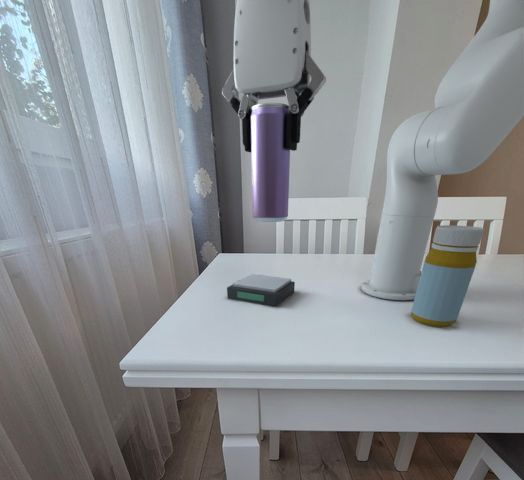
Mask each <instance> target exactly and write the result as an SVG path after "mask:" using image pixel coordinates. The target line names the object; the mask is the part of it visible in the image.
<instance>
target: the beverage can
mask: <svg viewBox="0 0 524 480" xmlns="http://www.w3.org/2000/svg"><path fill="white" fill-rule="evenodd" d="M289 110H290V107H289V104H286V103H280V102H264V103H262V102H261V103H257V105H254V106H253V107H252V113H251V117H250V122H251V152H250V158H251V159H250V161H251V162H250V164H251V165H250V166H251V168H250V169H251V207H252V208H251V210H252V211H251V212H252V214H251V215H252V219H253V220H254V221H255V222H259V223H260V222H261V223H280V222H285V221H286V220H287V218H288V216H289V197H290V196H289V195H290V165H291V164H290V163H291V150H289V149H287V148H286V116H287V114H289Z"/></svg>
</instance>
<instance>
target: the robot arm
mask: <svg viewBox="0 0 524 480" xmlns="http://www.w3.org/2000/svg"><path fill="white" fill-rule="evenodd" d="M310 5H311V4H310V0H236V3H235V12H234V13H235V14H234V27H233V68H232V70H231V72H230V74H229V76H228V78H227V79H226V81H225V83H224V85H223V87H222V89H221V95H222V96H223V97H224V99H225V100H226V101H227V102H228V104H230V106H231V108H232V109H233V110H234V112H235V113H236V114H237V115H238V118H239V119H240V120H241V130H242V131H241V133H242V145H243V147H244V151H245V152H247V153H251V122H250V117H251V113H252V107H253V106H254V105H257V104H259V101H260V100H269V99H277V98H284V97H286V100H287V103H288V104H287V105H288V106H289V107H290V110H289V114H287V116H286V148H287V149H289V150H290V151H294V152H295V151H297V149H298V144H300V143H301V127H302V125H301V123H302V117H303V116H304V115H305V112H306V110H307V109H308V108H309V106H310V105H311V104H312V102H313V100H314V99H315V96H317V94H318V93H319V92H320V90H321V89H322V88H323V87H324V85H325V84H326V82H327V77H326V75H325V74H324V72H323V71H322V69H320V67H319V66H318V65H317V63H316V62H315V60H314V59H313V57H312V28H311V27H312V26H311V6H310ZM236 92H238V93H240V94H242V96H241V99H240V98H239V96H238V95H237V93H236ZM523 117H524V0H489V6H488V12H487V16H486V19H485V20H484V22H483V24H482V25H481V26H480V28H479V29H478V31H477V32H476V34H475V35H474V36H473V38H472V39H471V40H470V42H468V44H467V45H466V47H465V48H464V49H463V50H462V52H461V53H460V55H459V56H458V57H457V58H456V60H455V61H454V62H453V63H452V65H451V67H450V68H449V69H448V70H447V72H446V73H445V75H444V76H443V78H442V80H441V81H440V83H439V84H438V87H437V90H436V93H435V96H434V108H432V109H428V110H425V111H424V110H423V111H421V112H418V113H416V114H414V115H412V116H410V117H408V118H406V119H405V120H404V121H402V123H401V124H399V126H397V128H396V129H395V130H394V132H393V133H392V135H391V138H390V140H389V142H388V146H387V153H386V185H385V191H384V192H385V193H384V199H383V206H382V211H381V215H380V222H379V227H378V233H377V238H376V243H375V250H374V254H373V260H372V266H371V272H370V277H369V279H368V280H365V281H363V282H362V283H361V287H360V290H361V291H362V292H363V293H365V294H366V295H369V296H372V297H375V298H378V299H384V300H390V301H414V299H415V296H416V292H417V288H418V284H419V280H420V277H421V273H422V265H423V263H424V257H425V253H426V249H427V246H428V243H429V238H430V234H431V231H432V227H433V223H434V219H435V216H436V212H437V208H438V202H439V191H438V185H437V181H436V176H446V175H447V176H448V175H459V174H466V173H468V172H470V171H472V170H475V169H476V168H478V167H479V166H481V165H482V164H483V163H484V162H486V160H488V158H489V157H490V156H491V155H492V154H493V153H494V152H495V151H496V149H497V148H498V147H499V146H500V145H501V144H502V143H503V141H504V140H505V139H506V138H507V137H508V135H509V134H510V133H511V132H512V131H513V129H514V128H515V127H516V125H518V123H519V122H520V121H521V120H522V119H523Z"/></svg>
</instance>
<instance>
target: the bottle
mask: <svg viewBox="0 0 524 480" xmlns="http://www.w3.org/2000/svg"><path fill="white" fill-rule="evenodd" d="M484 233H485V228H483V227H479V226H470V225H453V224H452V225H449V224H447V225H446V224H444V225H437V226H436V228H435V231H434V235H433V238H432V241H433V242H432V243H431V245H430V246H431V248H430V249H429V251H428V252H427V255H426V256H425V259H424V260H423V264H422V265H423V266H422V268H421V277H420V280H419V284H418V288H417V292H416V296H415V299H413V304H412V306H411V311H410V315H411V317H412V319H413V320H414V321H415V322H416V323H419V324H421V325H424V326H426V327H433V328H447V327H450V326H452V325H454V324H456V323H457V320H458V318H459V315H460V313H461V310H462V306H463V305H464V302H465V301H464V300H465V298H466V295H467V292H468V289H469V286H470V283H471V281H472V278H473V275H474V272H475V269H476V265H477V263H478V262H477V251H478V250H479V245H480V244H481V241H482V238H483V235H484Z"/></svg>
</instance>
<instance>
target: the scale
mask: <svg viewBox="0 0 524 480" xmlns="http://www.w3.org/2000/svg"><path fill="white" fill-rule="evenodd" d="M295 282H296V281H292V278H286V277H279V276H272V275H271V276H270V275H264V274H263V275H262V274H256V273H251V274H249V275H246V276H245V277H243V278H241V279H239V280H237V281H235V282H233V283H232V284H231V285H229V286H227V287H226V294H227V295H226V296H227V297H226V298H227V299H228V300H235V301H239V302H246V303H251V304H258V305H262V306H270V307H275V308H276V307H277V306H279V305H281V304H282V303H283V302H284V301H286V299H288V298H289V297H291V296H292V295H293V294H294V293H295V284H296V283H295Z"/></svg>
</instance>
